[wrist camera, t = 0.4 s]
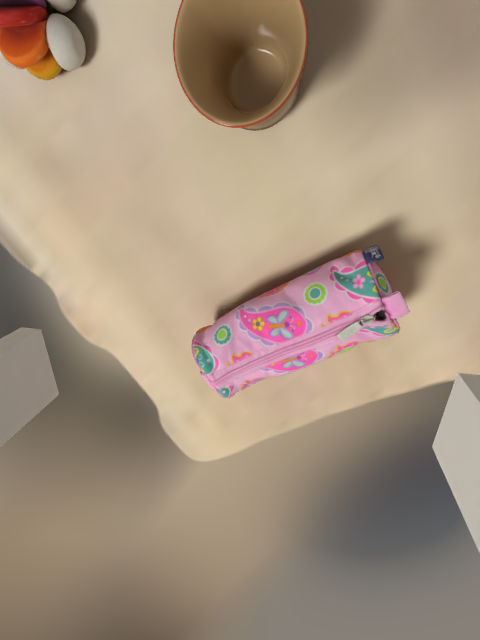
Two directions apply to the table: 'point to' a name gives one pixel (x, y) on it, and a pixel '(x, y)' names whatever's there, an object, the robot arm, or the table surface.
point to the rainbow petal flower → (40, 37)
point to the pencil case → (300, 323)
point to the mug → (241, 58)
